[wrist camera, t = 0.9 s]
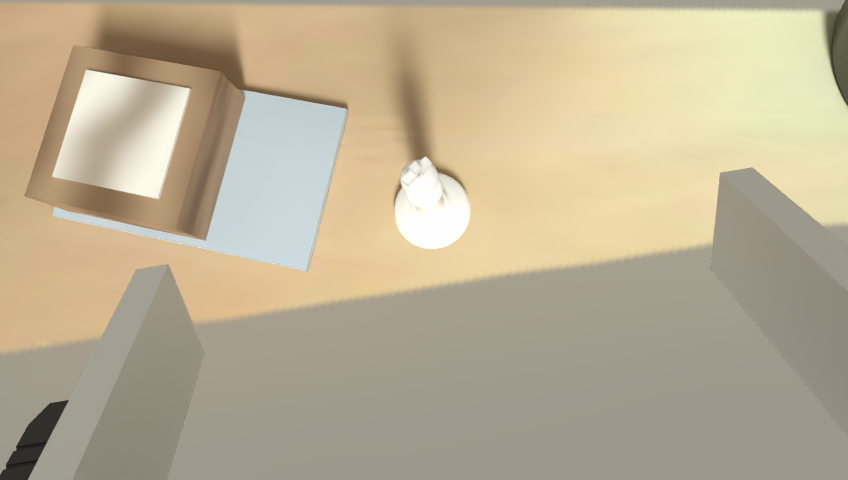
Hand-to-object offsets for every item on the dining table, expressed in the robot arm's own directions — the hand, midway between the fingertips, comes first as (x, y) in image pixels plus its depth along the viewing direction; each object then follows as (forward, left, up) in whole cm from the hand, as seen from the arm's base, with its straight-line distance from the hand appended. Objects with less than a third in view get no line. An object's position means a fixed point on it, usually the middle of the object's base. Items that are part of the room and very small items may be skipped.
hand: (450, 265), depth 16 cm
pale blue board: (+20, -6, -26) cm, 33 cm away
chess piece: (+4, -6, -26) cm, 27 cm away
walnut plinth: (+23, -6, -26) cm, 35 cm away
